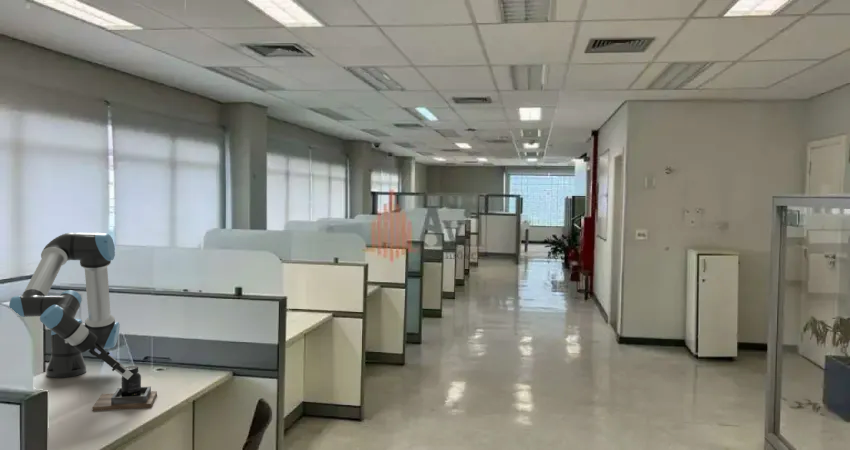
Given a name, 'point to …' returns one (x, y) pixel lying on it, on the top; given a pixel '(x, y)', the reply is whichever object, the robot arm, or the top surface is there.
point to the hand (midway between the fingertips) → (124, 372)
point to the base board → (125, 400)
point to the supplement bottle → (131, 383)
